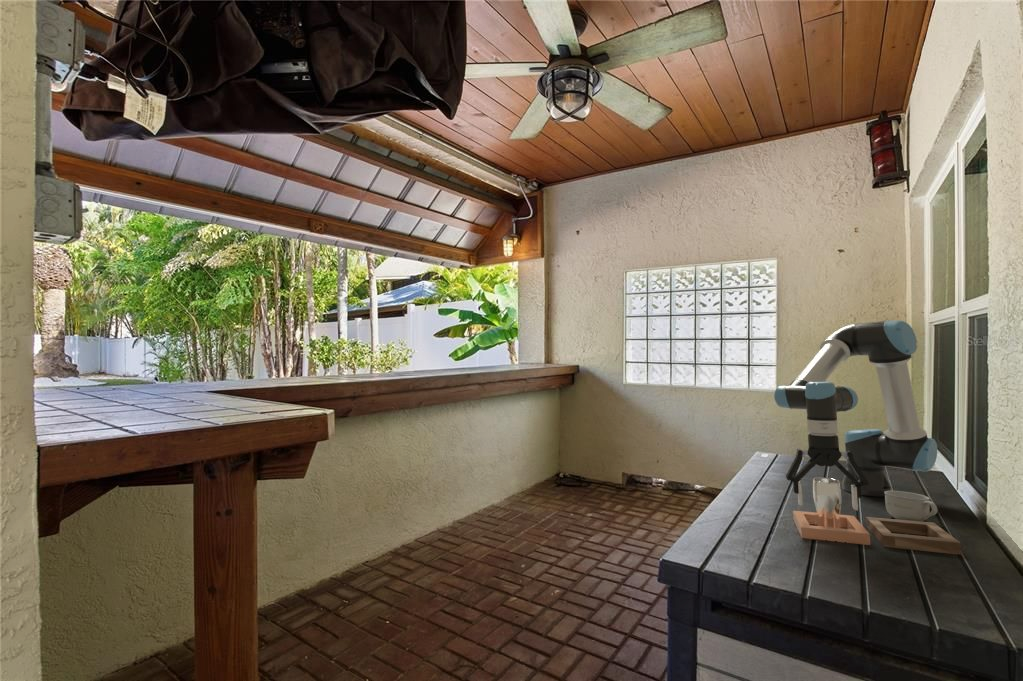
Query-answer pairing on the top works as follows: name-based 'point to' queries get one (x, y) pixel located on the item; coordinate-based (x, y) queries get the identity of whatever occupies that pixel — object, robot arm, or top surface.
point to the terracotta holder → (831, 529)
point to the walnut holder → (933, 543)
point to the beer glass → (827, 501)
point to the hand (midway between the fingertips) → (827, 506)
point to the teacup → (909, 506)
